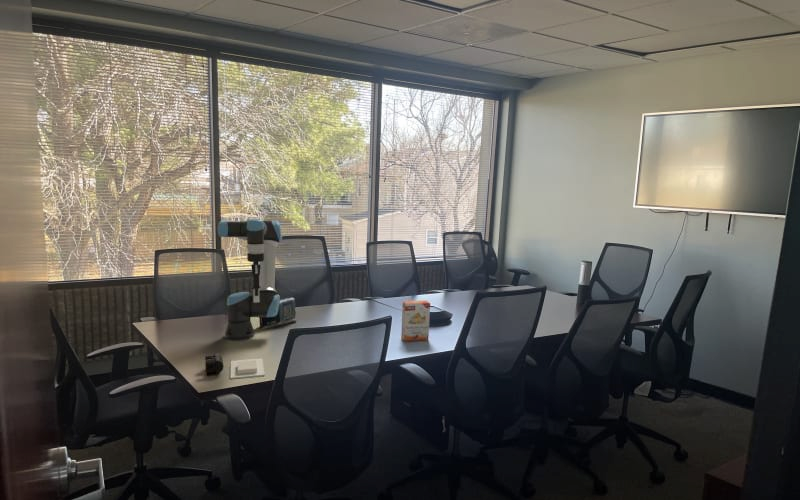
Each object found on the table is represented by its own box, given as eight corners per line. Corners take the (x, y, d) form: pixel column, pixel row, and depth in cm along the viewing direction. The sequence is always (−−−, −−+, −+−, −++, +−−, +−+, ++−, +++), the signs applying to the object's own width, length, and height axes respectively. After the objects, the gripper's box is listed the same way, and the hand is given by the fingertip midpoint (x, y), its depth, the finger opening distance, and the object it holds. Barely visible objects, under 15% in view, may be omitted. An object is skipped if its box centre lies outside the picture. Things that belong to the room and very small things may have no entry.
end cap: (223, 374, 219) (223, 359, 218) (206, 376, 216) (205, 361, 215) (222, 366, 228) (221, 352, 227) (205, 368, 225) (205, 354, 224)
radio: (259, 329, 282) (259, 303, 280) (254, 325, 289) (253, 300, 287) (298, 323, 296) (298, 298, 294) (292, 319, 303) (291, 295, 301)
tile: (237, 361, 227) (237, 370, 218) (256, 360, 229) (256, 368, 220) (237, 366, 227) (237, 374, 218) (256, 364, 230) (257, 372, 220)
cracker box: (404, 342, 267) (405, 303, 264) (400, 338, 273) (402, 300, 270) (429, 340, 271) (430, 302, 268) (425, 337, 277) (426, 299, 274)
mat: (230, 362, 233) (230, 360, 233) (262, 359, 237) (262, 358, 237) (230, 379, 214) (230, 377, 214) (264, 375, 219) (264, 374, 219)
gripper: (247, 250, 240) (247, 299, 244) (247, 255, 228) (248, 305, 231) (263, 250, 242) (264, 298, 246) (264, 254, 230) (265, 305, 234)
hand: (256, 301), depth 239 cm, fingers closed
